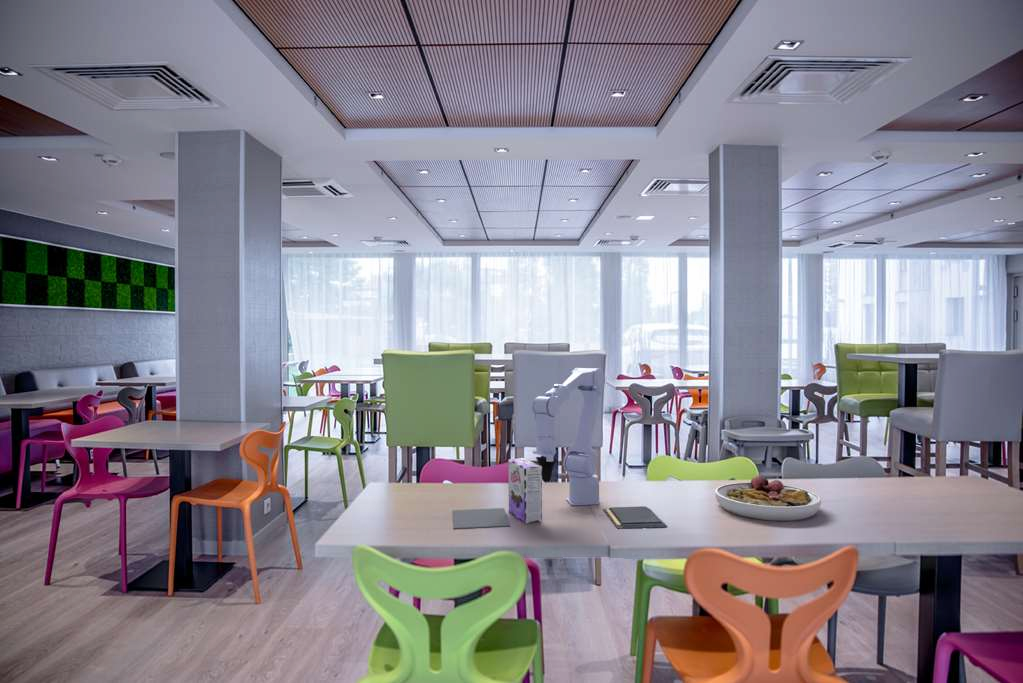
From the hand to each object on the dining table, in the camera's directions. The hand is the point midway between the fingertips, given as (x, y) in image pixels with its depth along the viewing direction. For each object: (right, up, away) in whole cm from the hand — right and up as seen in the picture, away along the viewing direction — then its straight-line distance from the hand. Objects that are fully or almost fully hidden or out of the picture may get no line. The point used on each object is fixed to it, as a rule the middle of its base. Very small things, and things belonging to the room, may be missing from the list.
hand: (546, 481), depth 182 cm
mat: (-20, -11, -2) cm, 23 cm away
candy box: (-6, -11, -1) cm, 13 cm away
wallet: (+26, -11, -3) cm, 28 cm away
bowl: (+68, -10, +5) cm, 69 cm away
